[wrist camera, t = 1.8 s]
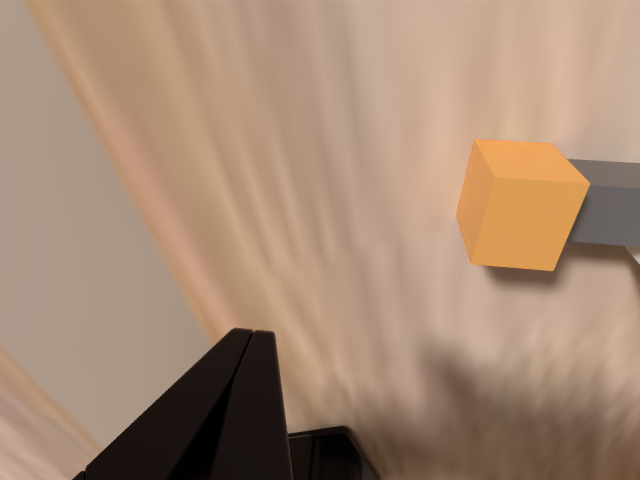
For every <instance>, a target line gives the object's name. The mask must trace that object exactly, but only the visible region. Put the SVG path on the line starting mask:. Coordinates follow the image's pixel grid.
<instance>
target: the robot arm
mask: <svg viewBox="0 0 640 480" xmlns="http://www.w3.org/2000/svg"><path fill="white" fill-rule="evenodd" d="M72 480H380V478H379V476H378V475H377V473H376V472H375V470H374V469H373V467H372V466H371V464H370V462H369V461H368V459H367V458H366V456H365V455H364V453H363V452H362V450H361V449H360V447H359V445H358V444H357V442H356V441H355V439H354V438H353V436H352V435H351V433H350V431H349V430H348V429H347V428H344V427H333V428H326V429H319V430H313V431H306V432H299V433H293V434H287V426H286V418H285V410H284V402H283V394H282V386H281V378H280V370H279V362H278V354H277V346H276V338H275V333H274V332H272V331H264V330H256V331H253V330H251V329H244V328H234V329H232V330H230V331H229V332H228V333H227V334H226V335H225V336H224V337H223V338H222V339H221V340H220V341H219V342H218V343H217V344H216V345H214V346H213V347H212V348H211V349H210V350H209V351H208V352H207V353H206V354H205V355H204V356H203V357H202V358H201V359H200V360H199V361H198V362H196V363H195V364H194V365H193V366H192V367H191V368H190V369H189V370H188V371H187V372H186V373H185V374H184V375H183V376H182V377H181V378H180V379H178V380H177V381H176V382H175V383H174V384H173V385H172V386H171V387H170V388H169V389H168V390H167V391H166V392H165V393H164V394H163V395H161V397H159V399H157V400H156V401H155V402H154V403H153V404H152V405H151V406H150V407H149V408H148V409H147V410H146V411H145V412H143V414H141V415H140V416H139V417H138V418H137V419H136V420H135V421H134V422H133V423H132V424H131V425H130V426H129V427H128V428H127V429H125V430H124V431H123V432H122V433H121V434H120V435H119V436H118V437H117V438H116V439H115V440H114V441H113V442H112V443H111V444H110V445H109V446H108V447H106V448H105V449H104V450H103V451H102V452H101V453H100V454H99V455H98V456H97V457H96V458H95V459H94V460H93V461H92V462H90V463H89V464H88V465H87V466H86V468H85V471H81V472H80V473H79V474H78V475H76V476H75V477H74V478H73V479H72Z"/></svg>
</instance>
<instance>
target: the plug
mask: <svg viewBox="0 0 640 480" xmlns="http://www.w3.org/2000/svg"><path fill="white" fill-rule="evenodd" d="M456 218H457V221H458V225H459V228H460V231H461V234H462V237H463V241H464V244H465V247H466V250H467V253H468V257H469V260H470V263H471V264H474V265H486V266H499V267H511V268H523V269H535V270H547V271H554V268H555V266H556V264H557V261H558V259H559V256H560V254H561V252H562V249H563V247H564V245H565V242H566V241H568V242H581V243H594V244H607V245H620V246H624V247H625V248H626V249H627V250H628V251H629V253H630V254H631V255H632V256H633V257H634V258H635V259H636V261H637V262H638V263H639V264H640V164H639V163H622V162H606V161H590V160H574V159H566V158H565V157H564V156H563V155H562V154H561V153H560V152H559V151H558V150H557V149H556V148H555V146H554V145H553V144H550V143H533V142H516V141H499V140H482V139H474V142H473V146H472V150H471V154H470V159H469V163H468V167H467V171H466V176H465V180H464V184H463V188H462V193H461V197H460V201H459V205H458V209H457V214H456Z"/></svg>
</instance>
